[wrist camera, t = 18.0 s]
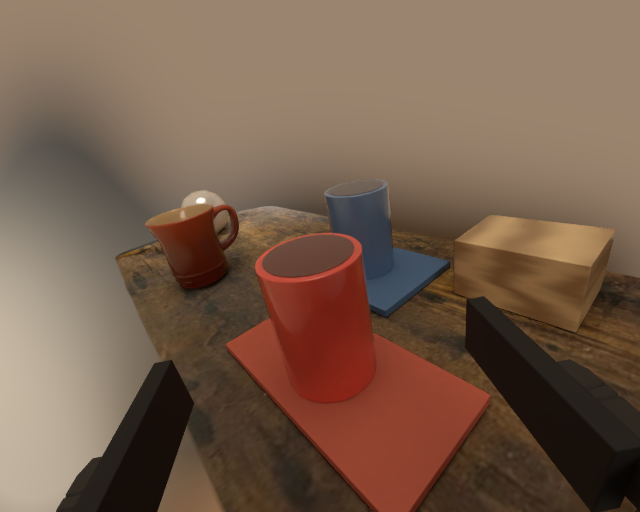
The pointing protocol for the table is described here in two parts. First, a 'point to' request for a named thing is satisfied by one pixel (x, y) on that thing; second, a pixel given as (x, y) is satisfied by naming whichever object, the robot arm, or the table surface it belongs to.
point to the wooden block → (533, 267)
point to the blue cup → (364, 221)
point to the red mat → (376, 419)
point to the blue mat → (403, 280)
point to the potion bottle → (208, 198)
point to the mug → (194, 243)
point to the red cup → (320, 314)
